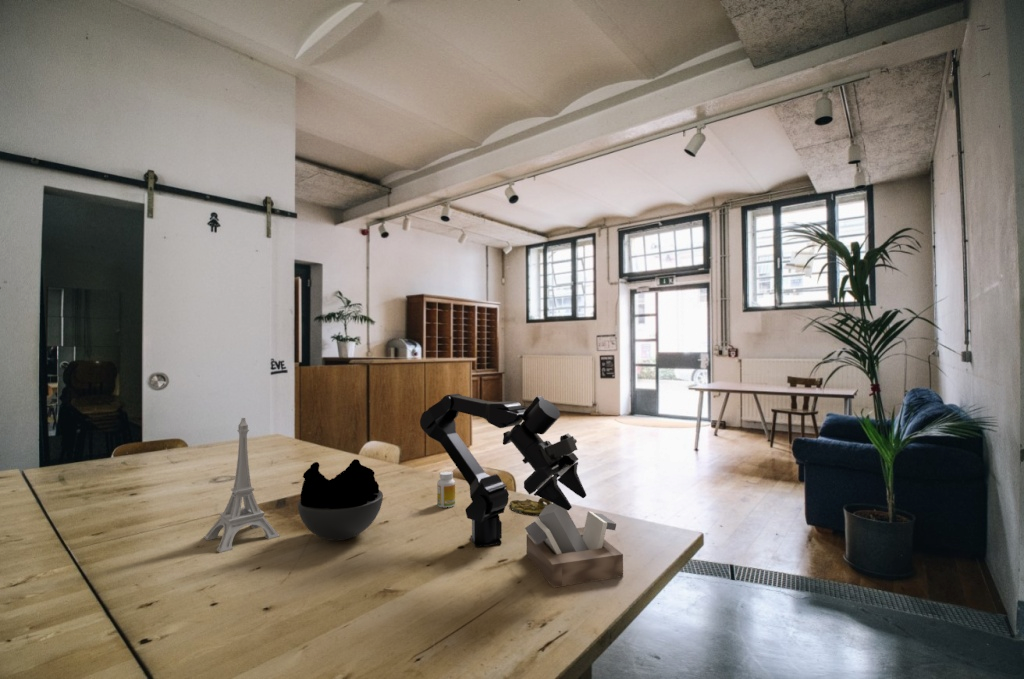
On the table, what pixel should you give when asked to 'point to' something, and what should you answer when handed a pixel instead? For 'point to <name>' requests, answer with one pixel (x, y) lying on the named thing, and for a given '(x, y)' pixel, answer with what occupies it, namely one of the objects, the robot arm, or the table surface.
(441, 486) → the supplement bottle
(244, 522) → the eiffel tower
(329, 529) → the coal bowl
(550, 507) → the grey stone block
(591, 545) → the panel
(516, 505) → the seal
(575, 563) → the box
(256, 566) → the table surface
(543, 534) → the near trapdoor leaf
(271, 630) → the table surface
